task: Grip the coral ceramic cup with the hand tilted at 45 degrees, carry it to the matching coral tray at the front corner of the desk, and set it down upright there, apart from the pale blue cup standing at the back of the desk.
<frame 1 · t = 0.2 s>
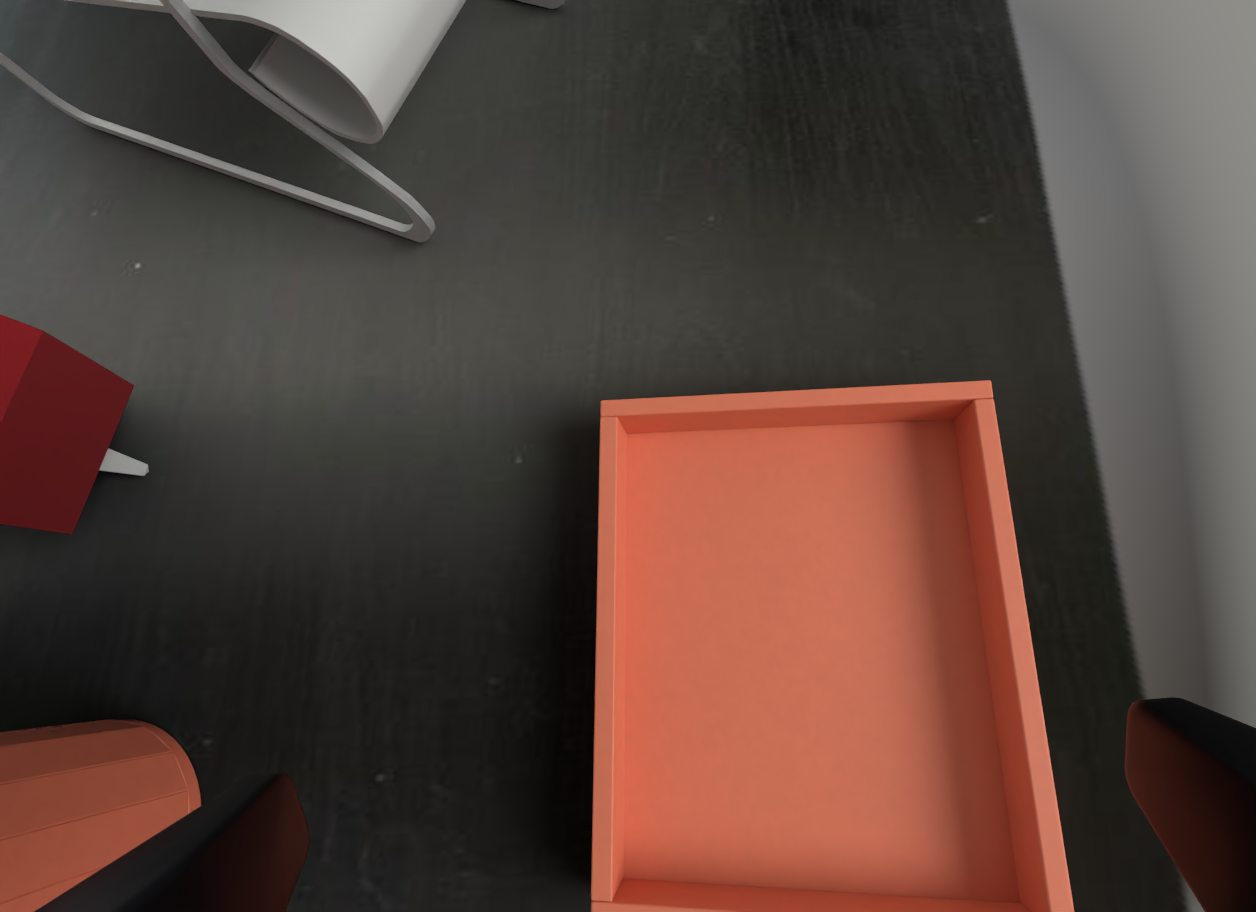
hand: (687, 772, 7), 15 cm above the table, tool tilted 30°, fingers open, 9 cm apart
coral tray: (795, 637, 21), on the table
alarm clock: (68, 428, 28), on the table
coral cup: (107, 831, 23), on the table
chair: (319, 72, 32), on the table
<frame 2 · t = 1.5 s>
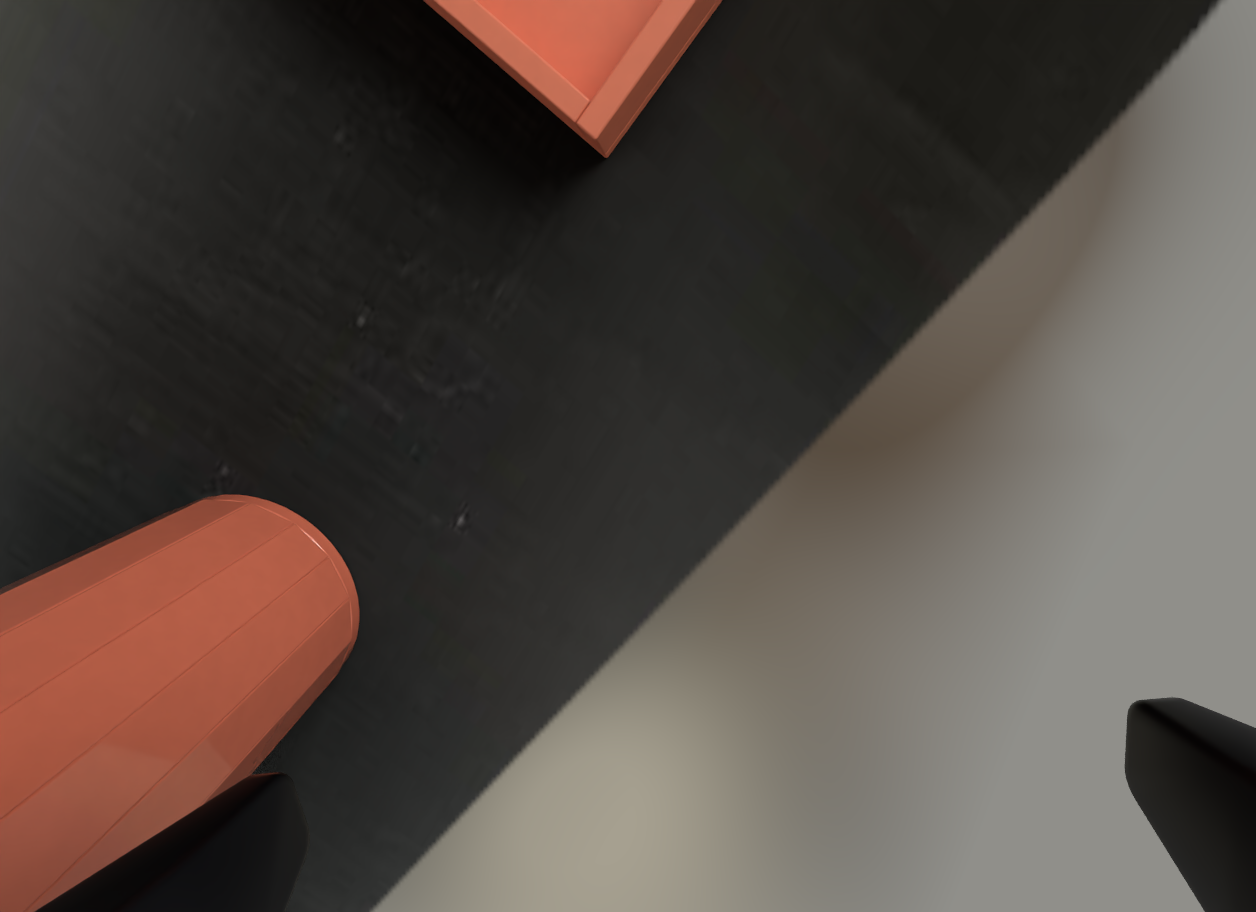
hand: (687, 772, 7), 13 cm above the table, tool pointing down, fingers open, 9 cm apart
coral cup: (252, 599, 22), on the table
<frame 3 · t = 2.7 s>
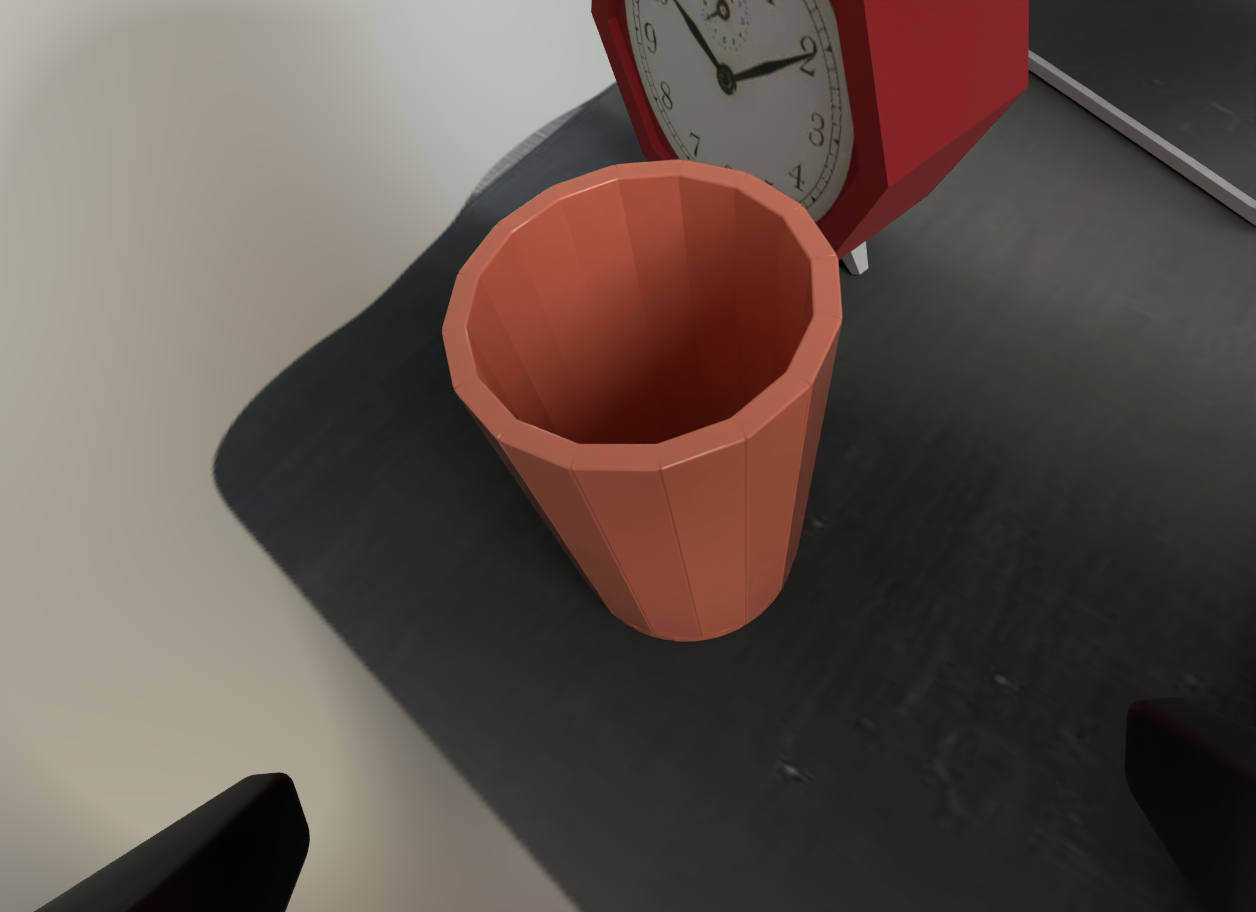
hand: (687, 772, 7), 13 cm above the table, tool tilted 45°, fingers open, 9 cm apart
alarm clock: (792, 204, 30), on the table
coral cup: (685, 533, 23), on the table
chair: (1186, 44, 30), on the table
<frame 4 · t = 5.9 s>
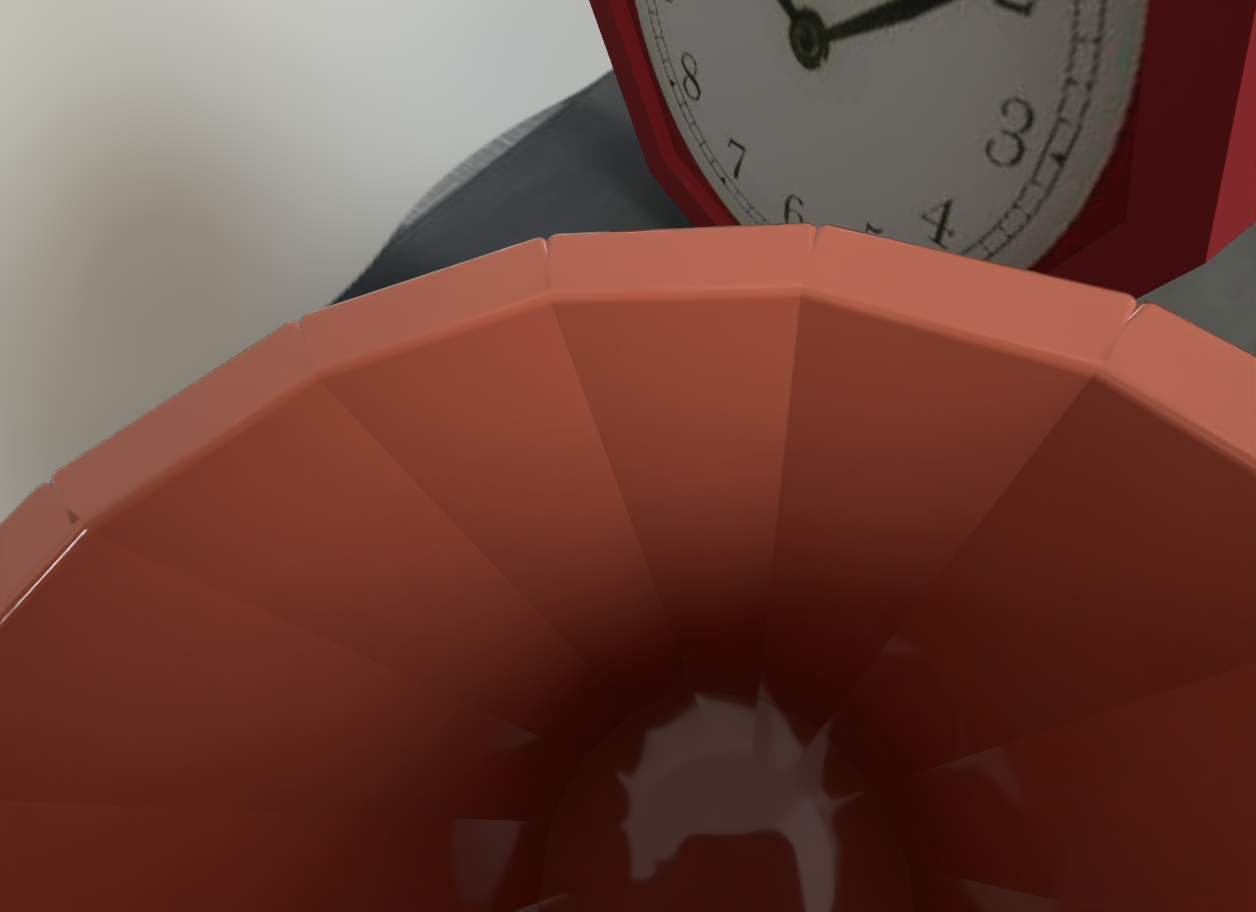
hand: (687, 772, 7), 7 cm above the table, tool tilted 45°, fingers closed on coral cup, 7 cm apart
alarm clock: (879, 252, 19), on the table
coral cup: (720, 882, 12), on the table, touching gripper
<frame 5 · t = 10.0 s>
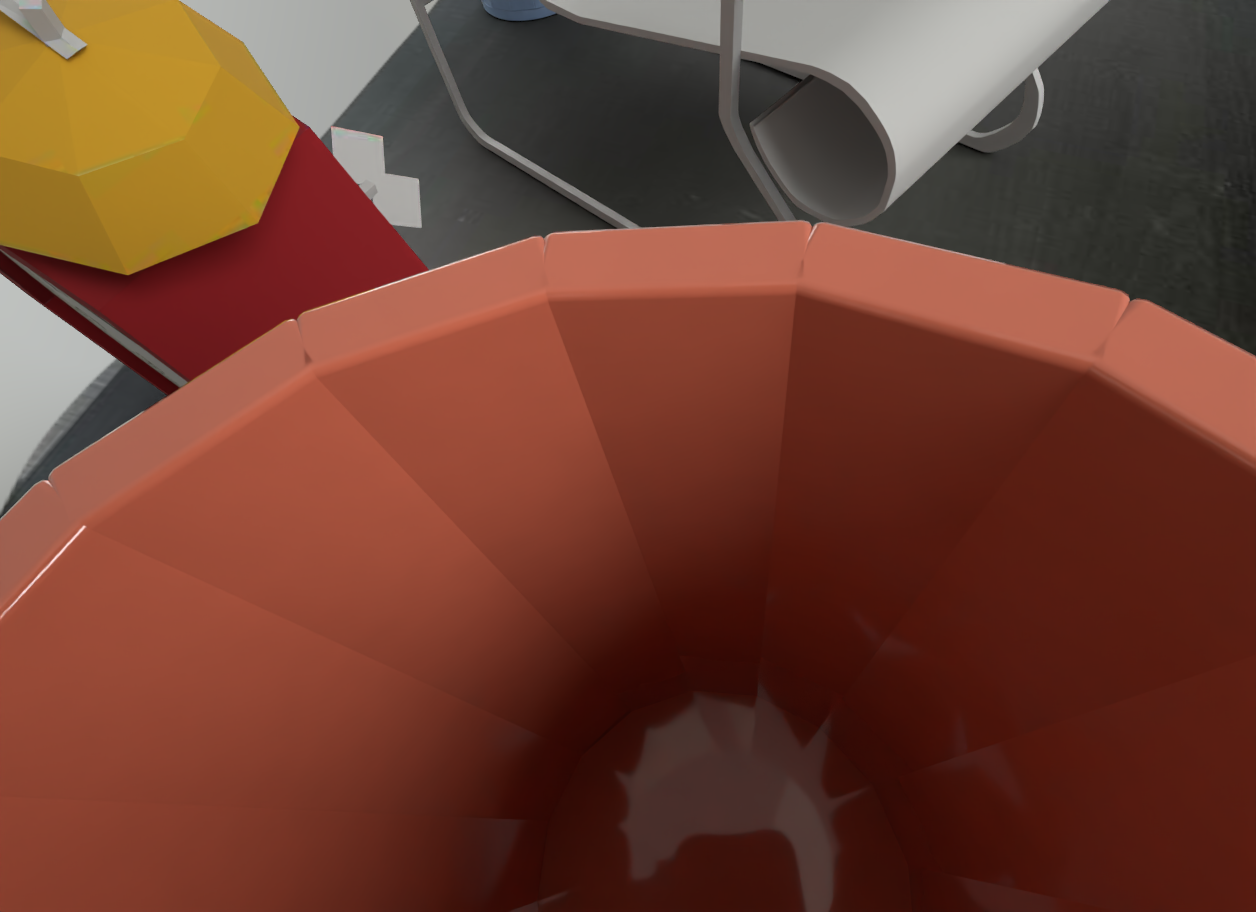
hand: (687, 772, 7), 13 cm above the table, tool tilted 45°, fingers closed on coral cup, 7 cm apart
alarm clock: (372, 409, 27), on the table
coral cup: (719, 881, 12), point 6 cm above the table, touching gripper
chair: (715, 152, 32), on the table
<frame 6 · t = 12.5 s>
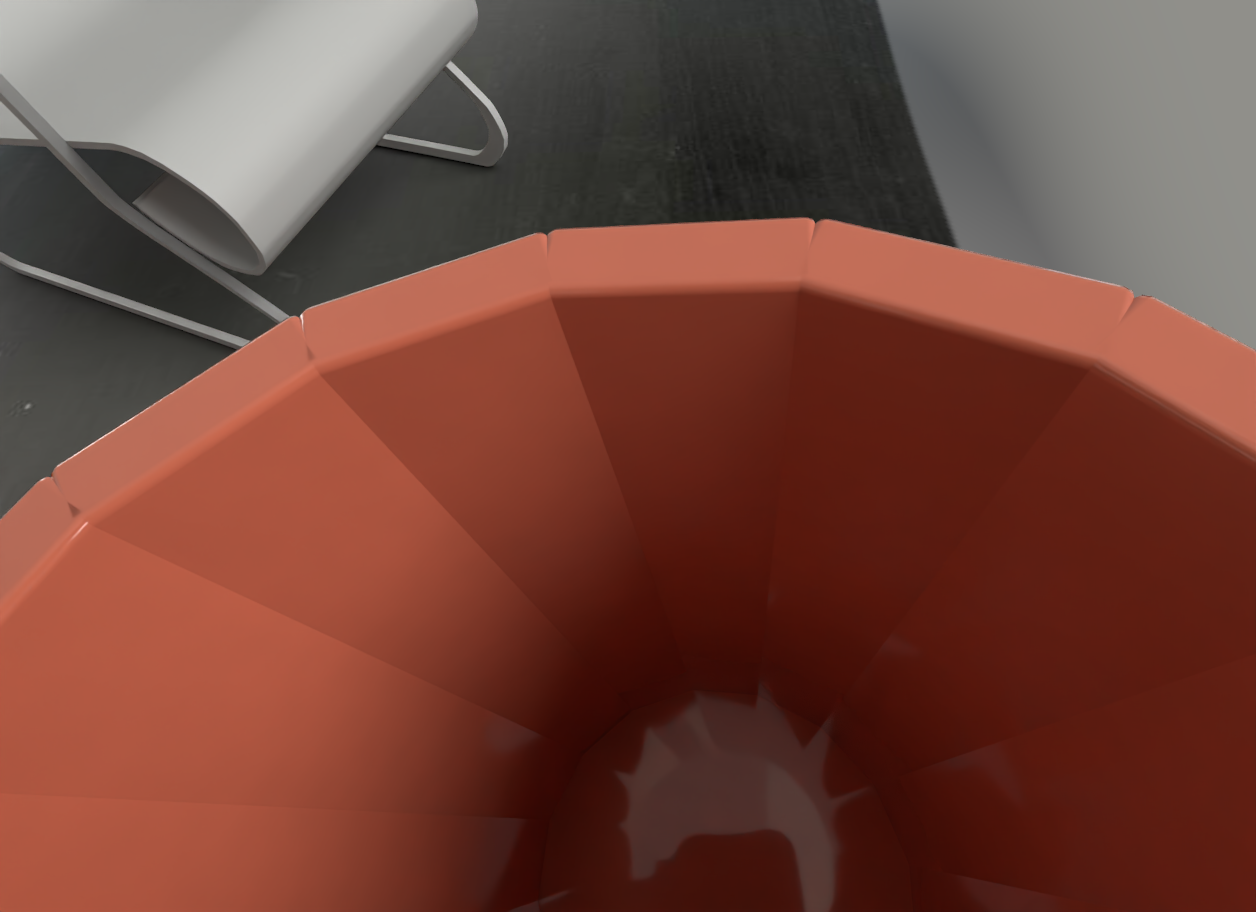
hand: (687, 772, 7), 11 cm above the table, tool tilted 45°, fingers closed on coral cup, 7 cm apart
coral cup: (720, 880, 12), point 5 cm above the table, touching gripper
chair: (256, 223, 32), on the table
when the fingers open (7 cm above the table, at t = 14.4 s): coral cup stays where it is, resting on coral tray.
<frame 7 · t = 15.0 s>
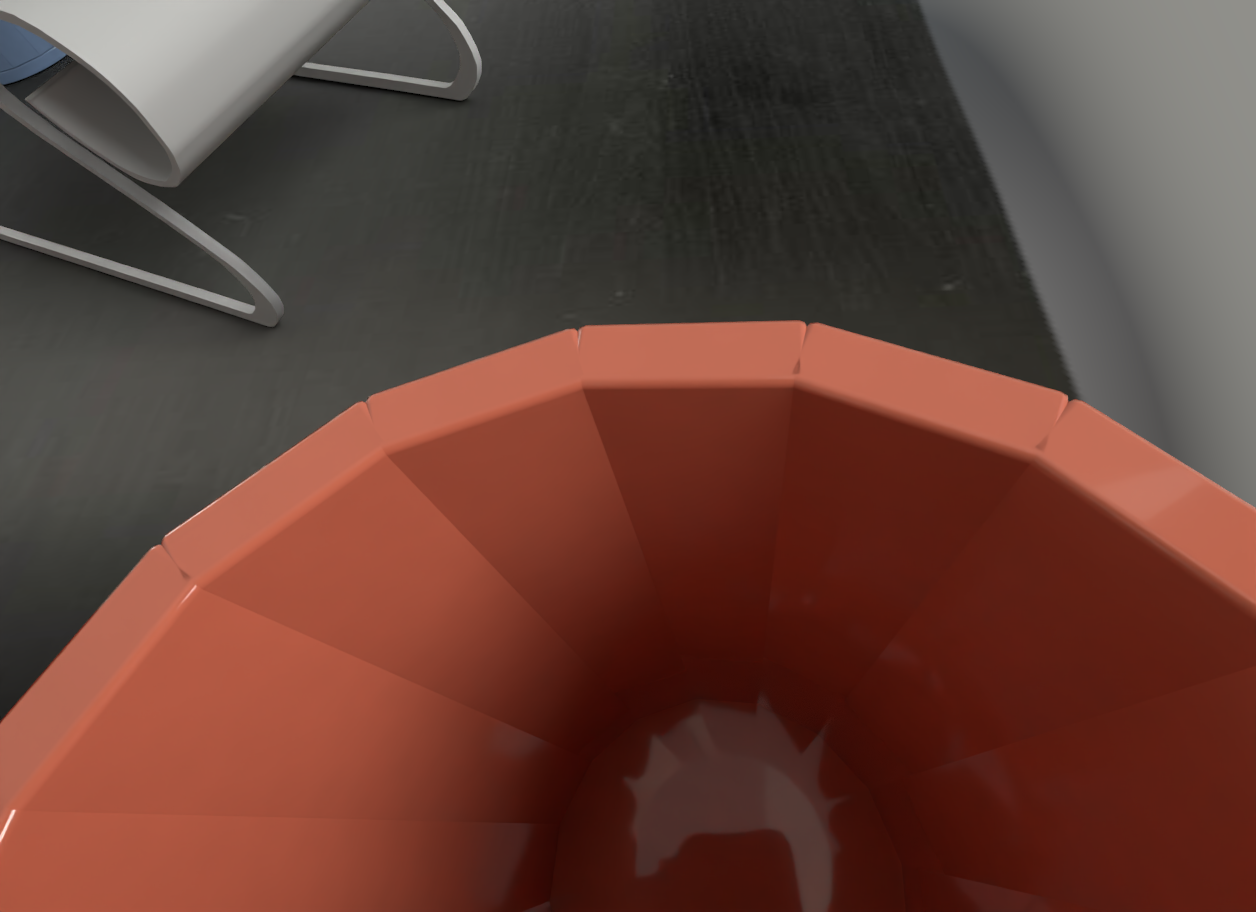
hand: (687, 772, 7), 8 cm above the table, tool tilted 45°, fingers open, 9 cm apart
blue cup: (28, 48, 38), on the table
coral cup: (722, 880, 13), resting on coral tray
chair: (206, 165, 29), on the table
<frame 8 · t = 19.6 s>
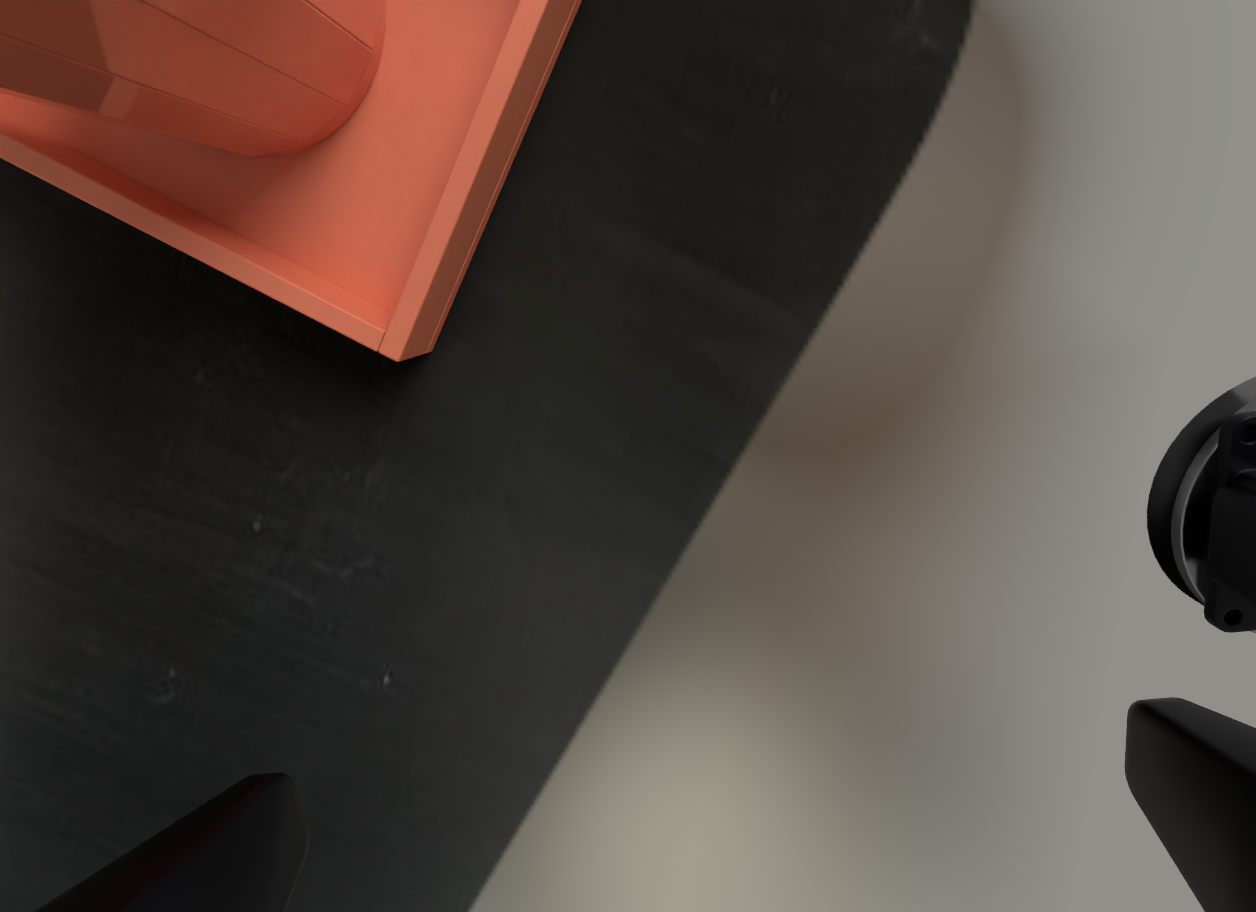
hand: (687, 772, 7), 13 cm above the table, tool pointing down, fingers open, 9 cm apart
coral tray: (256, 6, 17), on the table
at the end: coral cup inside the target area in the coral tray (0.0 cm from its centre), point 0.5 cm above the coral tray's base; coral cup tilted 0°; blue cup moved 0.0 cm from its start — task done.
